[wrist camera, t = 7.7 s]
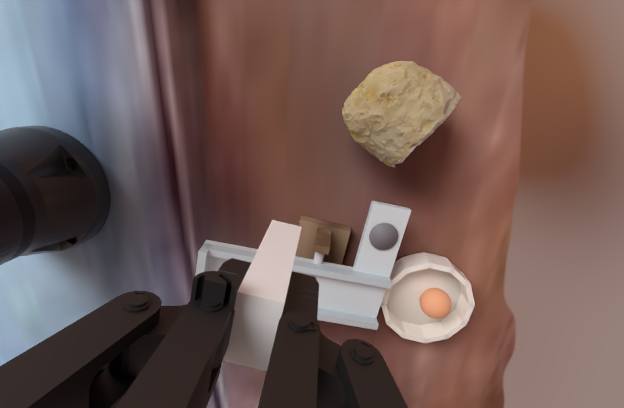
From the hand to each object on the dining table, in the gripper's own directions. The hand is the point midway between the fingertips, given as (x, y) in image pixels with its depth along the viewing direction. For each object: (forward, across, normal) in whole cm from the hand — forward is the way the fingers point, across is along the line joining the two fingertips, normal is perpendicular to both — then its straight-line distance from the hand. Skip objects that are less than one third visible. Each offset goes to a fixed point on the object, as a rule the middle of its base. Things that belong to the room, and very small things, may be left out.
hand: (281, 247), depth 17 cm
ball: (+19, +18, -12) cm, 29 cm away
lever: (+17, +1, -9) cm, 19 cm away
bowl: (+22, +17, -12) cm, 30 cm away
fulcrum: (+22, +4, -12) cm, 25 cm away
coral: (+22, +7, +8) cm, 25 cm away
